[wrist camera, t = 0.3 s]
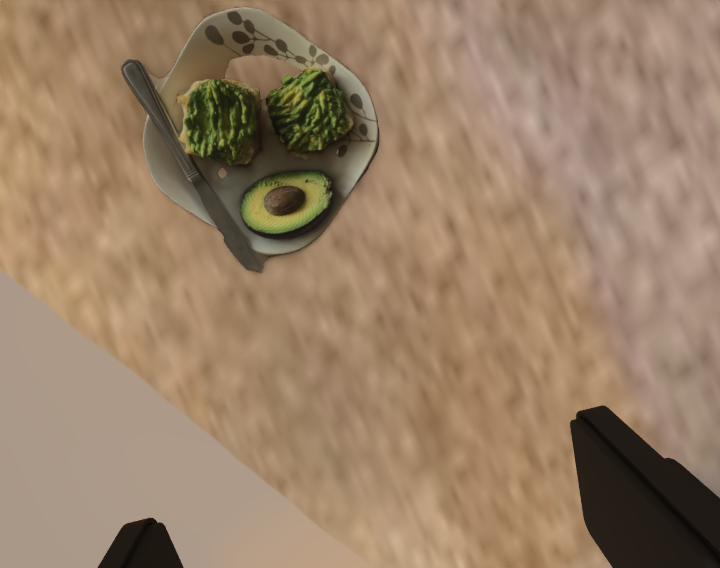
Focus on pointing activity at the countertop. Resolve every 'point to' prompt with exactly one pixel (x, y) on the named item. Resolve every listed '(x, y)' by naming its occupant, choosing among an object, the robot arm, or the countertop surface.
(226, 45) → the salad plate
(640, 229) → the countertop surface
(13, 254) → the countertop surface
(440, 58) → the countertop surface
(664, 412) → the countertop surface
